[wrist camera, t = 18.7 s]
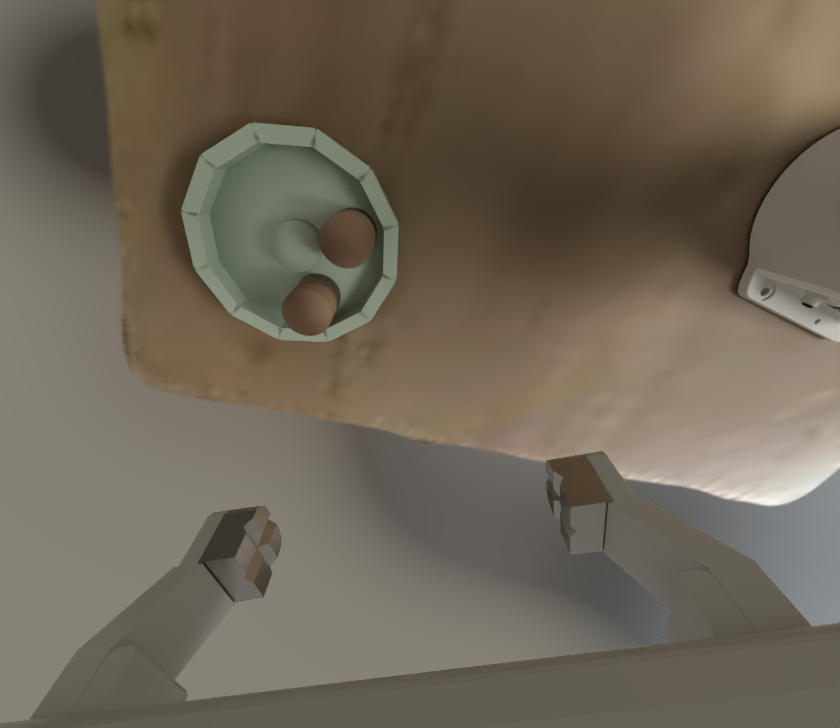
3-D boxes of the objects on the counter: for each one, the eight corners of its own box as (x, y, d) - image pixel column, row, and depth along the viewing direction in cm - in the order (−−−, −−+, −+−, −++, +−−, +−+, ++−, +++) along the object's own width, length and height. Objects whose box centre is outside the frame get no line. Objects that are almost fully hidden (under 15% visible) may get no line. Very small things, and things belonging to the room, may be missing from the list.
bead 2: (325, 210, 30) (312, 216, 26) (372, 204, 30) (367, 209, 26) (336, 258, 32) (325, 271, 28) (380, 253, 32) (377, 265, 28)
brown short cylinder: (333, 269, 33) (322, 285, 28) (345, 310, 34) (337, 330, 30) (291, 278, 33) (273, 295, 28) (305, 318, 35) (291, 340, 30)
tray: (434, 213, 32) (437, 217, 29) (342, 357, 38) (338, 370, 35) (247, 75, 27) (230, 65, 24) (177, 268, 33) (158, 276, 30)
